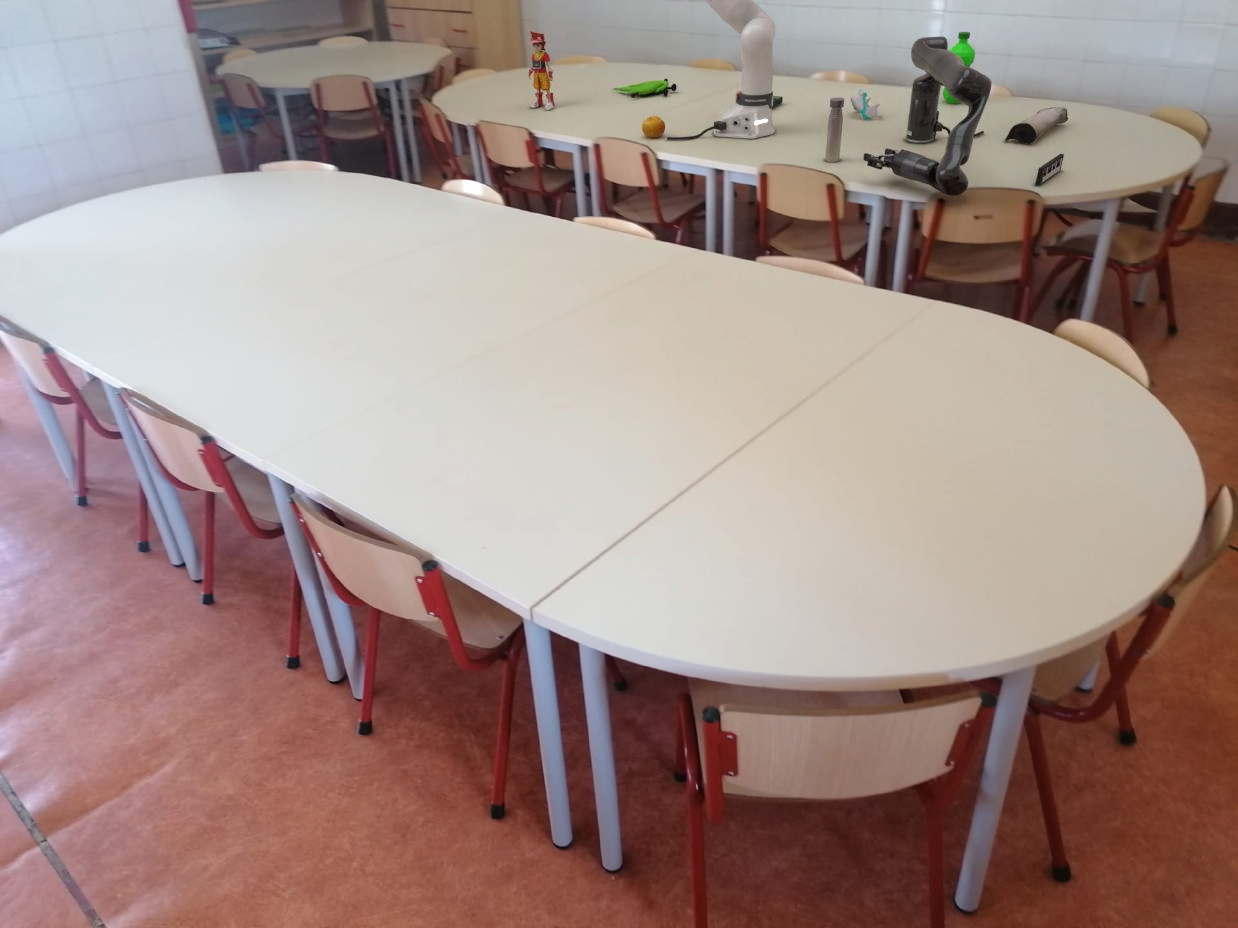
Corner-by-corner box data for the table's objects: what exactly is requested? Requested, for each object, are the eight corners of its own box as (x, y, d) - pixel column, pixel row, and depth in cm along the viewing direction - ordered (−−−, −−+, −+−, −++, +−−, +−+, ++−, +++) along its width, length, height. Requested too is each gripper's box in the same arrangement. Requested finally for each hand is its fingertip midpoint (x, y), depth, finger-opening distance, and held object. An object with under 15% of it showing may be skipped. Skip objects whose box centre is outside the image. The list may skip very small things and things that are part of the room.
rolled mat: (1035, 112, 325) (1059, 94, 316) (1049, 133, 325) (1073, 116, 317) (1000, 135, 307) (1025, 117, 299) (1015, 157, 308) (1040, 140, 300)
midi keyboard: (1039, 185, 269) (1043, 168, 266) (1035, 184, 270) (1038, 168, 267) (1060, 170, 279) (1064, 154, 277) (1056, 169, 280) (1060, 153, 277)
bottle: (831, 157, 304) (836, 98, 293) (842, 160, 300) (847, 100, 290) (822, 160, 301) (826, 100, 291) (832, 163, 298) (837, 103, 287)
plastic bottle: (973, 101, 354) (984, 32, 339) (955, 106, 349) (966, 36, 335) (952, 97, 361) (962, 29, 346) (934, 102, 356) (944, 33, 342)
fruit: (635, 129, 332) (646, 109, 329) (642, 132, 340) (653, 113, 337) (653, 141, 331) (664, 122, 328) (660, 144, 339) (671, 125, 336)
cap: (836, 104, 294) (836, 96, 292) (846, 106, 291) (847, 99, 289) (826, 106, 292) (827, 99, 290) (837, 109, 289) (837, 101, 287)
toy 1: (525, 109, 381) (517, 32, 364) (534, 104, 388) (527, 28, 371) (550, 110, 377) (543, 32, 360) (559, 105, 384) (553, 28, 367)
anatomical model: (845, 88, 346) (871, 81, 345) (848, 116, 352) (873, 109, 351) (857, 98, 334) (883, 90, 333) (859, 126, 340) (885, 119, 339)
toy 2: (686, 85, 398) (631, 84, 414) (685, 72, 395) (629, 72, 411) (651, 104, 381) (596, 103, 397) (650, 92, 378) (594, 91, 394)
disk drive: (768, 112, 357) (782, 103, 367) (768, 105, 355) (783, 96, 365) (744, 110, 362) (759, 101, 372) (744, 103, 360) (759, 94, 370)
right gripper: (931, 149, 271) (893, 138, 283) (894, 157, 266) (858, 146, 278) (927, 174, 275) (890, 162, 287) (891, 183, 270) (856, 170, 282)
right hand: (874, 154), depth 282 cm, fingers open, 8 cm apart
